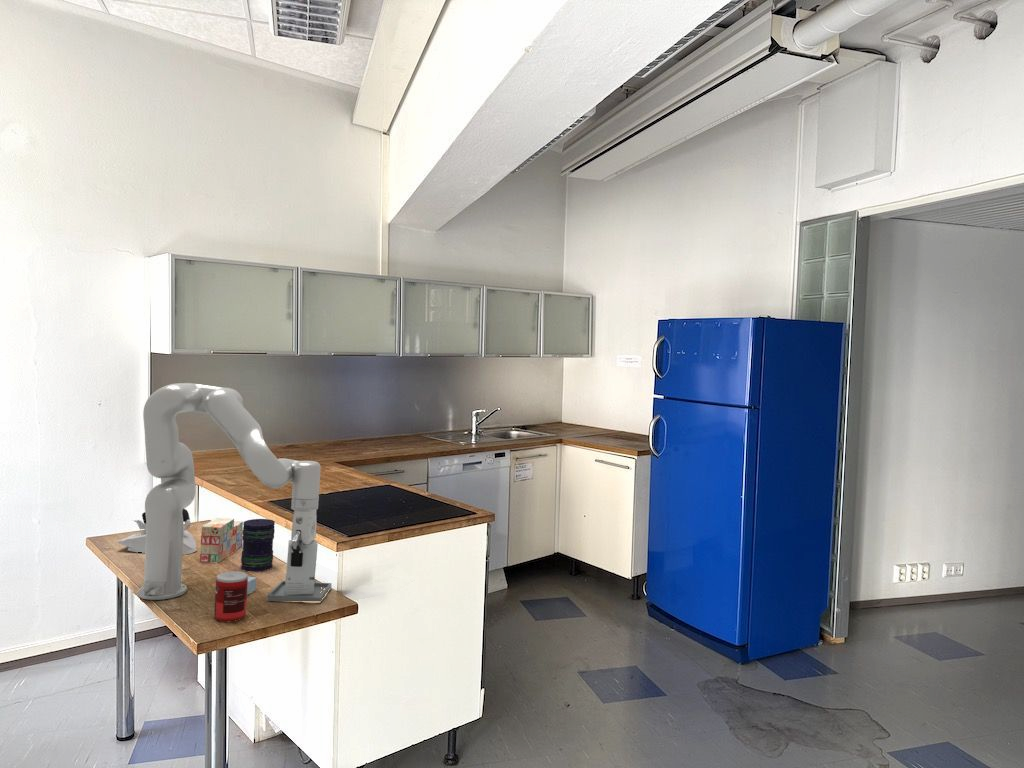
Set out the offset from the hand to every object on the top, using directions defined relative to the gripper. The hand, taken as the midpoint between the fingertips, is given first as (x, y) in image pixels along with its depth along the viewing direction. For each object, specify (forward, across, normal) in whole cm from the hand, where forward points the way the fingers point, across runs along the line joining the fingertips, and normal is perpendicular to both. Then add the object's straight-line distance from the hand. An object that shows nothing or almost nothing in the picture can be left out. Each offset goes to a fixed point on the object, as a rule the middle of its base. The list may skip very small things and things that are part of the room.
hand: (301, 561), depth 195 cm
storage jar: (+10, +24, +21) cm, 33 cm away
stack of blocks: (+11, +37, +37) cm, 54 cm away
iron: (+11, +38, +58) cm, 71 cm away
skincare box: (+9, 0, 0) cm, 9 cm away
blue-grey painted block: (+10, +1, +18) cm, 21 cm away
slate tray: (+10, 0, 0) cm, 10 cm away
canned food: (+10, -19, +13) cm, 25 cm away
